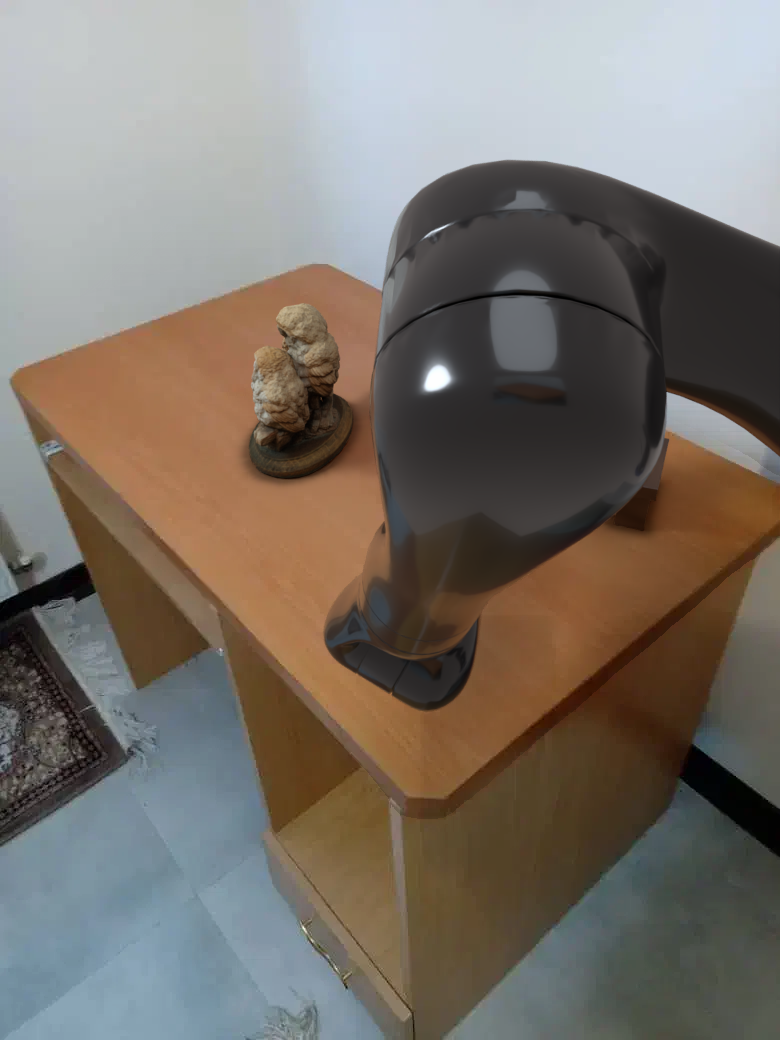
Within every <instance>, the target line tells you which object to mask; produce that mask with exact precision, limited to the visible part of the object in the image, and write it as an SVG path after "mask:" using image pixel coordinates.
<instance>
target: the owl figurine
mask: <svg viewBox="0 0 780 1040" xmlns="http://www.w3.org/2000/svg"><path fill="white" fill-rule="evenodd" d="M275 323H276V328H277V330H278V332H279V334H280V335H281V336H282V337H283V338H282V342H281V348H279V347H275V346H270V345H265V346H264V345H263V346H262V347H260V348H258V349H257V350H256V351H255V352H254V353H253V356H254V362H253V371H252V374H251V383H250V387H251V391H252V402H253V403H254V408H253V409H254V414H255V415H256V418H257V420H258V422H257V423H256V425H255V427H254V428H253V429H252V432H251V434H250V437H249V443H248V453H249V458H250V460H251V461H250V462H252V463H253V464H254V465H255V469H257V471H259V472H260V473H262V474H264V475H268V476H271V477H274V478H280V479H291V478H299V477H304V476H307V475H309V474H313V473H314V472H316V471H319V470H320V469H321V468H323V467H324V466H326V465H327V464H328V463H330V462H331V461H332V460H334V459H335V458H336V457H337V456H338V455H339V454H340V452H342V451H343V450H344V448H345V446H346V444H347V442H348V440H349V438H350V436H351V435H352V430H353V425H354V417H353V416H354V414H353V410H352V407H351V405H350V404H349V402H348V401H347V400H346V399H345V398H343V397H342V396H341V395H338V394H337V393H334V385H335V384H336V383H337V382H338V379H339V377H340V374H339V370H340V368H341V363H340V361H341V356H340V353H339V352H340V351H339V346H338V343H337V342H336V340H335V336H333V335H332V334H331V332H329V330H328V322H327V320H326V318H325V317H324V316H323V314H322V312H320V311H319V310H318V308H317V307H315V306H314V305H312V304H310V303H305V302H303V303H302V302H301V303H299V304H292V305H286V306H284V307H282V308H281V309H280V310H279V313H278V314H277V315H276V318H275Z"/></svg>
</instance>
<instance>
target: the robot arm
mask: <svg viewBox="0 0 780 1040" xmlns="http://www.w3.org/2000/svg"><path fill="white" fill-rule="evenodd" d="M386 253H387V254H386V260H385V268H384V275H383V282H382V287H381V288H382V289H381V301H380V308H379V309H380V310H379V317H378V325H377V332H376V333H377V334H376V340H375V341H376V342H375V343H376V344H375V350H374V357H373V365H372V373H371V378H370V387H369V405H368V406H369V409H368V410H369V411H368V412H369V413H368V414H369V421H370V422H369V423H370V430H371V437H372V438H371V439H372V447H373V454H374V461H375V462H374V463H375V468H376V475H377V480H378V486H379V493H380V502H381V506H382V508H381V509H382V513H383V514H382V515H383V522H382V523H381V524H380V526H379V527H378V528H377V529H376V531H375V533H374V535H373V537H372V539H371V541H370V543H369V546H368V548H367V551H366V555H365V557H364V558H365V559H364V563H363V566H362V572H361V573H359V574H358V575H356V576H355V577H354V578H353V579H352V580H351V581H349V583H348V584H347V585H346V586H345V587H344V588H343V589H342V590H341V592H339V594H338V595H337V596H336V597H335V600H334V601H333V602H332V604H331V606H330V607H329V609H328V612H327V613H326V617H325V620H324V624H323V629H322V630H323V631H322V637H323V643H324V647H325V648H326V650H327V652H328V653H329V655H330V656H331V657H332V658H333V660H335V661H336V662H337V663H339V664H340V665H341V666H343V667H344V668H345V669H347V670H349V671H350V672H352V673H353V674H355V675H357V676H358V677H360V678H362V679H363V680H365V681H366V682H368V683H370V684H371V685H372V686H375V687H376V688H378V689H379V690H381V691H383V692H385V693H386V694H387V695H390V696H391V697H392V698H394V699H395V700H397V701H399V702H400V703H402V704H404V705H405V706H407V707H409V708H410V709H413V710H414V711H417V712H422V713H432V712H436V711H440V710H442V709H444V708H446V707H447V706H449V705H450V704H453V702H454V701H456V700H457V699H458V698H459V696H460V695H461V694H462V693H463V691H464V689H466V686H467V685H468V682H469V680H470V678H471V676H472V673H473V671H474V667H475V663H476V659H477V653H478V648H479V642H480V635H481V625H482V617H483V612H484V610H485V608H486V606H487V605H488V603H490V601H491V600H492V599H493V598H494V597H496V596H497V595H499V594H500V593H502V592H503V591H505V590H507V589H509V588H511V587H512V586H513V585H515V584H517V583H518V582H520V581H522V580H524V579H525V578H527V577H528V576H529V575H531V574H533V573H534V572H536V571H537V570H539V569H540V568H541V567H543V566H544V565H546V564H547V563H549V562H550V561H552V560H553V559H555V558H556V557H558V556H559V555H561V554H562V553H564V552H565V551H567V550H569V549H570V548H572V547H573V546H574V545H576V544H577V543H579V542H581V541H582V540H583V539H585V538H586V537H588V536H589V535H591V534H592V533H594V532H595V531H596V530H598V529H600V527H602V526H603V525H604V524H606V523H607V522H608V521H609V520H611V519H612V518H613V517H614V516H616V513H617V512H618V511H619V510H621V509H622V508H623V507H624V506H625V505H626V504H627V503H628V502H629V501H630V500H631V499H632V498H633V497H634V496H635V495H636V493H637V492H638V491H639V490H640V489H641V488H642V486H643V485H644V484H645V482H646V481H647V480H648V478H649V477H650V475H651V474H652V472H653V470H654V468H655V466H656V463H657V461H658V459H659V456H660V454H661V450H662V447H663V443H664V438H666V430H667V422H668V421H667V419H668V394H672V395H675V396H679V397H681V398H684V399H686V400H688V401H691V402H693V403H696V404H699V405H701V406H704V408H708V409H709V410H711V411H713V412H715V413H717V414H719V415H721V416H723V417H725V418H726V419H728V420H730V421H731V422H732V423H734V424H736V425H737V426H739V427H741V428H742V429H744V430H745V431H747V432H748V433H749V434H750V435H752V436H753V437H754V438H755V439H757V440H758V441H760V442H761V443H762V444H763V445H765V447H767V448H768V449H769V450H770V451H772V452H773V453H774V454H775V455H777V456H778V457H779V458H780V245H777V244H776V243H773V242H770V241H769V240H765V239H763V238H760V237H759V236H756V235H754V234H751V233H749V232H746V231H743V230H741V229H740V228H737V227H734V226H732V225H730V224H727V223H724V222H722V221H720V220H718V219H716V218H713V217H711V216H708V215H706V214H704V213H701V212H699V211H697V210H694V209H693V208H690V207H687V206H685V205H683V204H680V203H679V202H675V201H673V200H671V199H668V198H666V197H663V196H662V195H659V194H656V193H655V192H652V191H650V190H647V189H644V188H641V187H640V186H636V185H633V184H630V183H629V182H625V181H623V180H621V179H618V178H615V177H612V176H609V175H606V174H603V173H600V172H597V171H593V170H590V169H586V168H583V167H579V166H575V165H572V164H571V165H570V164H565V163H559V162H553V161H548V160H547V161H546V160H532V159H531V160H530V159H501V160H494V161H487V162H479V163H473V164H470V165H466V166H464V167H462V168H459V169H455V170H452V171H450V172H447V173H445V174H442V175H441V176H440V177H438V178H436V179H434V180H433V181H431V182H430V183H428V184H426V185H425V186H423V187H422V188H420V190H419V191H418V192H416V193H415V195H414V196H413V197H412V198H411V199H410V200H409V201H408V202H407V203H406V205H405V206H404V207H403V209H402V210H401V212H400V214H399V215H398V216H397V220H396V221H395V224H394V226H393V231H392V233H391V235H390V240H389V243H388V248H387V252H386Z"/></svg>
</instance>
